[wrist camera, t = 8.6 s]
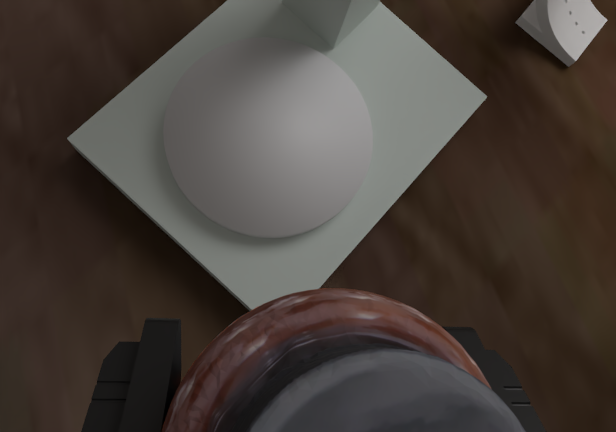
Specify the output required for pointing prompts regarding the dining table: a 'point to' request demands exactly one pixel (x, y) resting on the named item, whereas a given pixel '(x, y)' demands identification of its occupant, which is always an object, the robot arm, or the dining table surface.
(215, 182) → the press
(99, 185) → the dining table surface
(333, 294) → the supplement bottle
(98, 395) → the robot arm
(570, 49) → the headphone stand
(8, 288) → the dining table surface
